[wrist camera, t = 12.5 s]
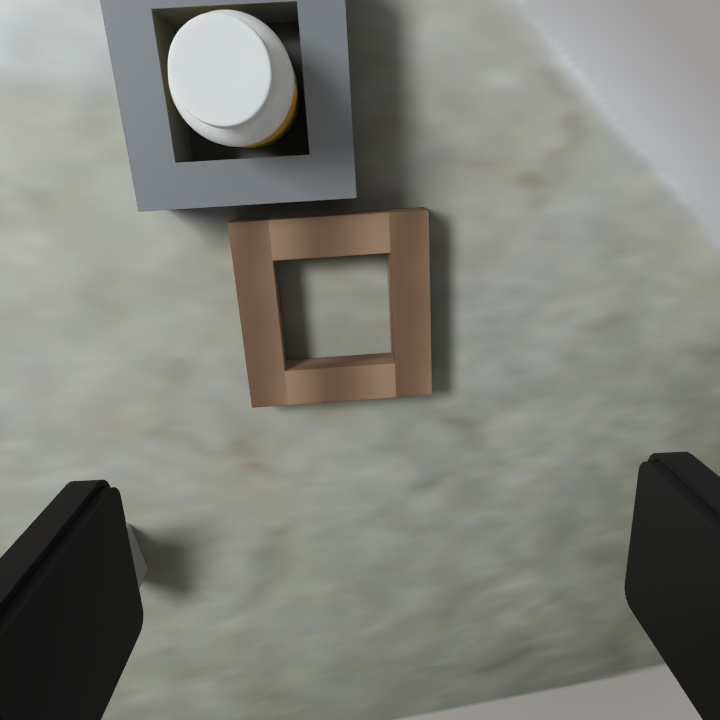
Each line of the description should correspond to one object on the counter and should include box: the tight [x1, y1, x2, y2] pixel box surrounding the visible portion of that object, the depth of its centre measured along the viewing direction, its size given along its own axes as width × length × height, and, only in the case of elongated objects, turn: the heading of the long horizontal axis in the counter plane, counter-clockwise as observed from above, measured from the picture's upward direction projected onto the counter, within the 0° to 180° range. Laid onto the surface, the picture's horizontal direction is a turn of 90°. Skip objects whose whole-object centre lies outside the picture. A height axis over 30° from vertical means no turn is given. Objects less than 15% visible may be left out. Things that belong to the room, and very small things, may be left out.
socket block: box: [100, 0, 357, 212], centre depth 29 cm, size 11×11×4 cm
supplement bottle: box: [168, 10, 300, 148], centre depth 26 cm, size 5×5×10 cm
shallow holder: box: [228, 207, 432, 408], centre depth 34 cm, size 11×11×2 cm
